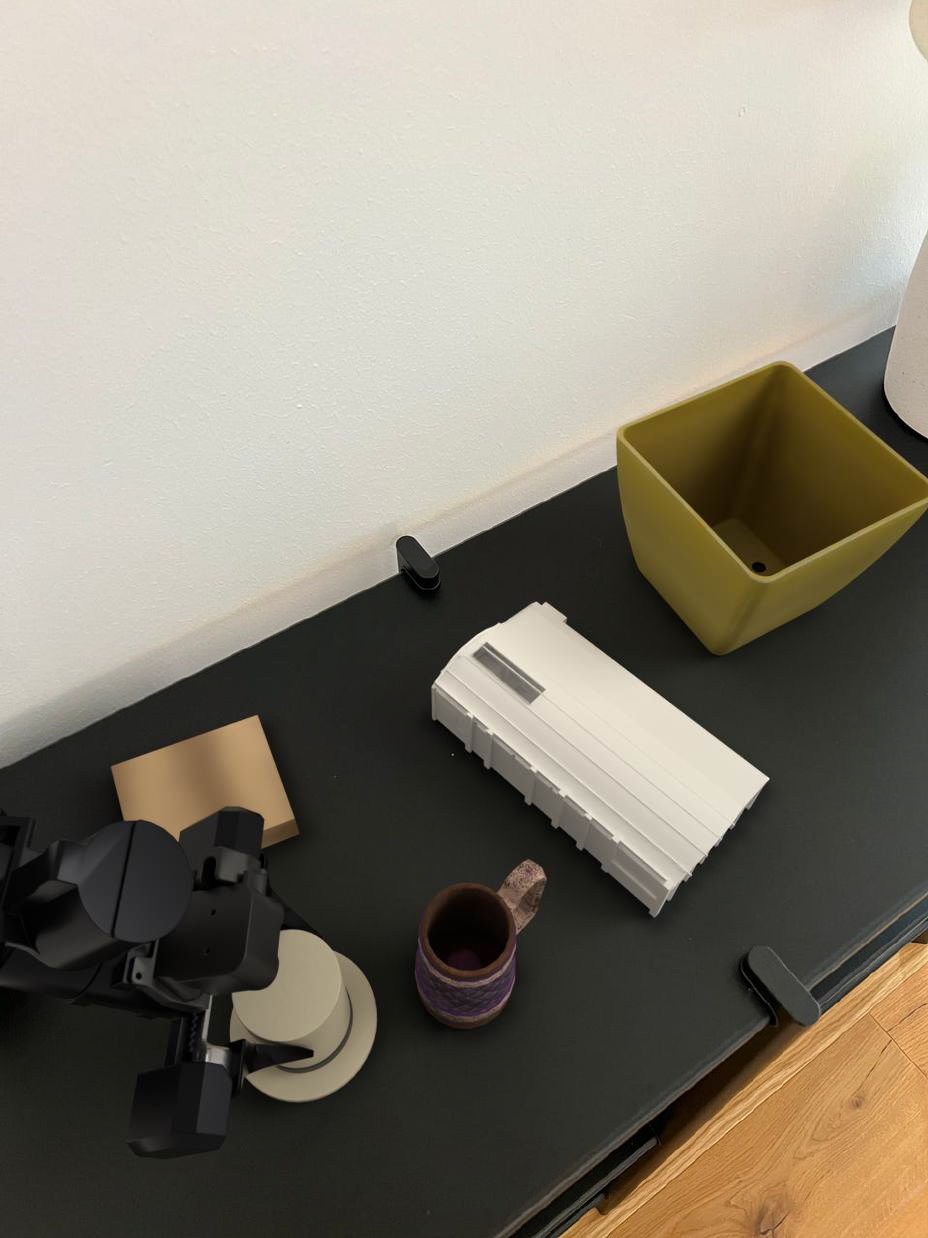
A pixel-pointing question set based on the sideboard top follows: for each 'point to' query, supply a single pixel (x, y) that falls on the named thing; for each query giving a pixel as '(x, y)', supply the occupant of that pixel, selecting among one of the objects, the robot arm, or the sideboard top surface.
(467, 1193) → the sideboard top surface
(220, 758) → the wooden block
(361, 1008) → the hat
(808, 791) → the sideboard top surface
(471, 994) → the mug
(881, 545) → the flower pot
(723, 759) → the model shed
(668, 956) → the sideboard top surface
